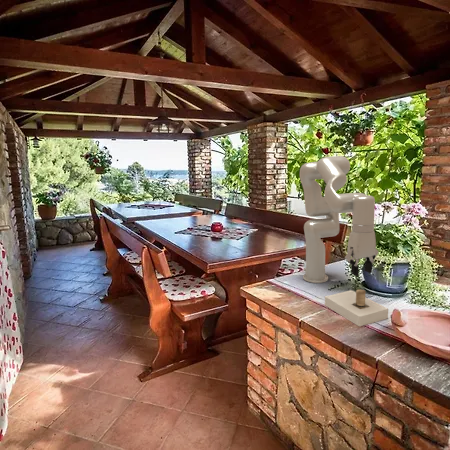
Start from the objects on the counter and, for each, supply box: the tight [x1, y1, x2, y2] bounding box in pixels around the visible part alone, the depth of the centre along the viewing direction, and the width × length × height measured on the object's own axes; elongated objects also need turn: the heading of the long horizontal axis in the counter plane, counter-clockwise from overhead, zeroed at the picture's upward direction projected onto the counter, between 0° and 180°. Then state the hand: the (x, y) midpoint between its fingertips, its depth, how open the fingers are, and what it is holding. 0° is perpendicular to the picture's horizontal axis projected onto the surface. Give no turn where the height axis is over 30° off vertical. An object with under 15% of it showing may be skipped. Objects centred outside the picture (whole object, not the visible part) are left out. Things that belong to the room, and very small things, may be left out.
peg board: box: [324, 289, 389, 328], centre depth 131 cm, size 20×14×4 cm
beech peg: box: [355, 288, 367, 309], centre depth 128 cm, size 4×4×10 cm
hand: (361, 273), depth 125 cm, fingers open, 5 cm apart
